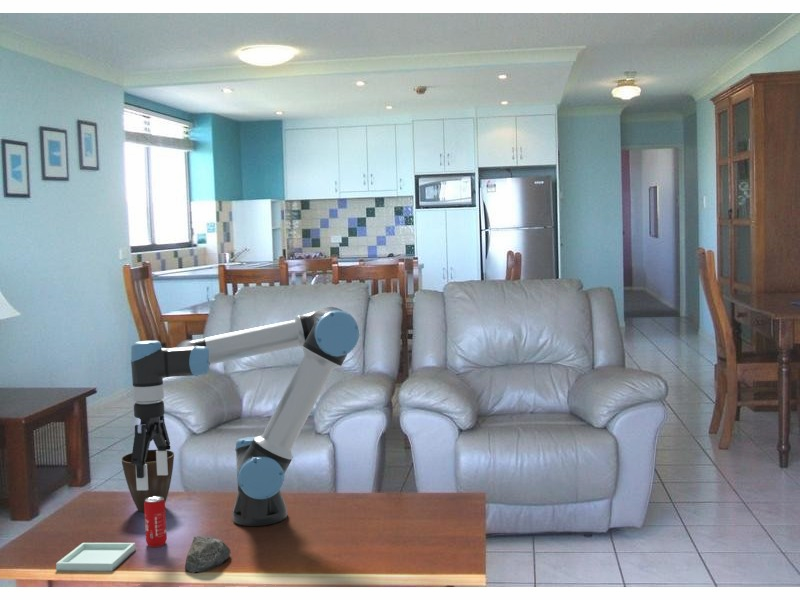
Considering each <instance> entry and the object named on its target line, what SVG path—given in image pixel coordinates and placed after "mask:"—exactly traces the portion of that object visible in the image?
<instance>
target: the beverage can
mask: <svg viewBox="0 0 800 600" xmlns="http://www.w3.org/2000/svg"><path fill="white" fill-rule="evenodd" d="M144 512H145V513H144V527H145V529H144V530H145V542H146V544H147V547H149V548H159V547H162V545H163V546H165V545H166V542H167V518H166V502H165V501H164V498H163V497H160V496H155V497H149V498H147V499H145V502H144ZM164 544H165V545H164Z"/></svg>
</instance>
